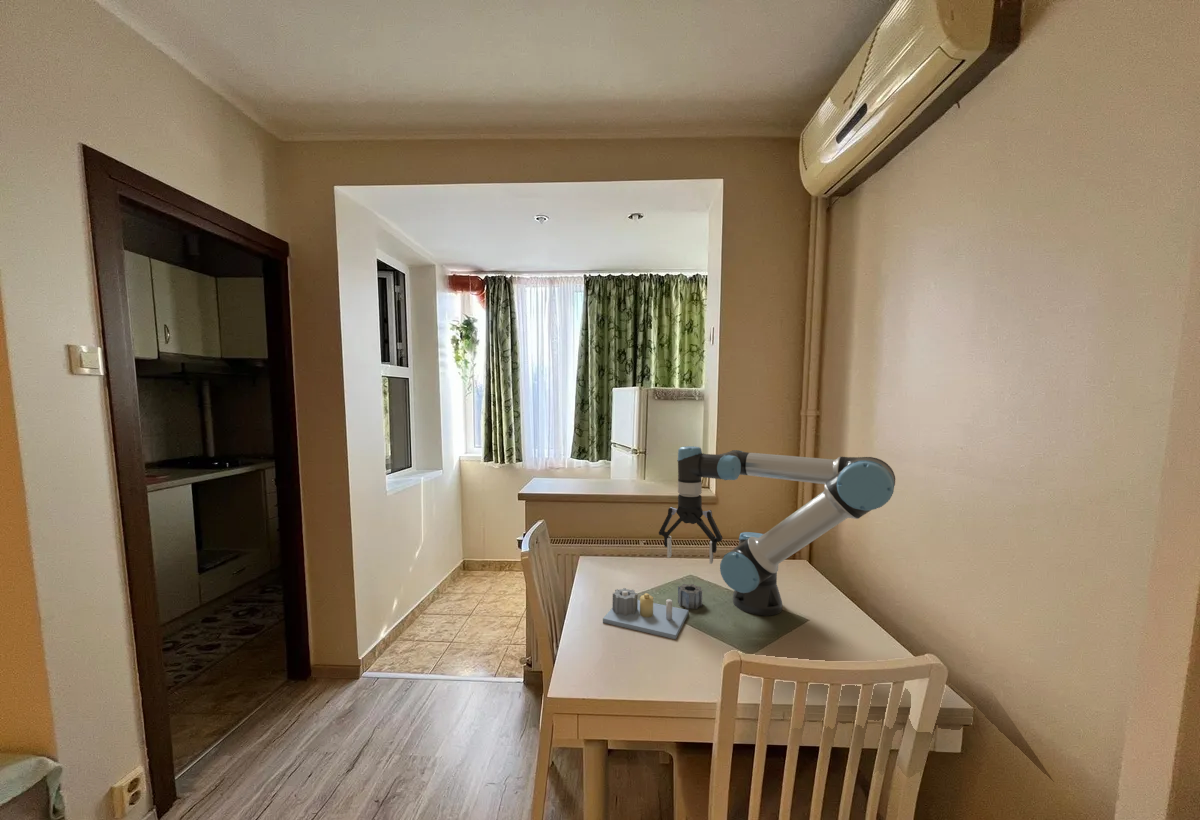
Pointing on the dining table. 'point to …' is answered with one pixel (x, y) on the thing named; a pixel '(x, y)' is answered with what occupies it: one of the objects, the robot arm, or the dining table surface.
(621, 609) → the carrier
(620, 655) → the dining table surface
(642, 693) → the dining table surface
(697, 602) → the gear
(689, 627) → the dining table surface
